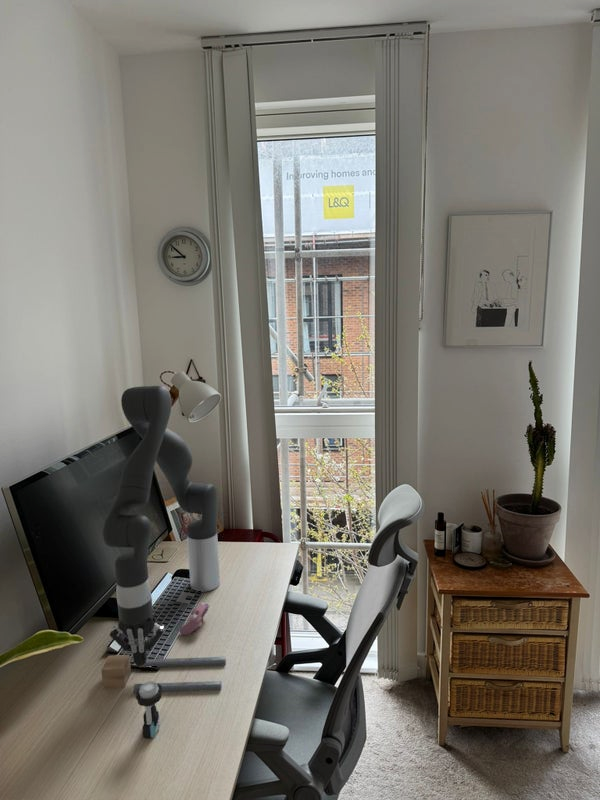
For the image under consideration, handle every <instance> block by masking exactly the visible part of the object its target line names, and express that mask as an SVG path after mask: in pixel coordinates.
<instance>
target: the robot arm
mask: <svg viewBox="0 0 600 800" xmlns="http://www.w3.org/2000/svg"><path fill="white" fill-rule="evenodd" d="M120 400H121V408H122V413H123V415H124V417H125V419H126V420H127V422H128V423H129V424H130V425H131V427H132V428H133V430H134V431H135V432H136V433H137V434H138V436H140V438H141V441H140V442H139V443H138V445H137V446H136V447H135V449H134V450H133V452H131V454H130V455H129V456H128V458H127V460H126V461H125V463H124V466H123V468H122V472H121V474H120V475H121V476H120V481H119V486H118V491H117V496H116V497H115V500H114V502H113V505H112V507H111V509H110V511H109V513H108V515H107V517H106V519H105V521H104V524H103V527H102V539H103V541H104V543H105V544H106V545H107V546H108V547H110V548H111V547H112V548H133V550H132V551H127V552H124V553H122V554H120V555H118V557H116V559H115V561H114V572H115V581H116V601H117V602H116V603H117V610H118V619H119V621H118V623H117V625H115V626H113V627H112V629H111V631H110V633H109V636H110V637H111V639H112V640H113V641H115V643H116V644H117V645H119V646H120V648H122V650H124V651H125V652H128V651H131V653H132V656H133V657H132V658H133V663H134V664H135V665H136V666H137V667H144V663H146V660H147V659H148V651H150V650H151V651H152V649H153V648H154V646H155V645H156V644H157V642H158V641H159V640H160V639H161V637H162V635H164V631H165V629H166V625H165V624H161V625H160V624H158V623H157V622H156V621H157V620H156V618H155V616H154V611H153V610H154V609H153V600H152V599H153V598H152V589H151V582H150V580H149V579H150V578H149V571H148V570H149V569H148V555H149V549H150V545H151V544H150V543H151V539H152V535H153V525H152V522H151V520H150V519H149V518H148V517H147V516H145V515H141V514H140V515H133V514H132V515H131V514H129V513H130V511H131V510H134V509H136V508H139V507H140V508H141V507H143V506H147V504H148V502H149V499H150V496H151V495H150V494H151V488H152V482H153V476H154V470H155V465H156V463H157V465H158V468H159V469H160V470H161V472H162V473H163V474H164V476H165V477H166V480H167V481H168V483H169V485H170V487H171V489H172V492H173V494H174V496H175V499H176V502H177V504H178V506H179V508H180V509H181V510H182V511H183V512H185V513H187V514H196V515H198V514H200V515H201V518H198V519H196V520H194V521H192V522H190V523H189V524H188V525H187V526H186V540H187V541H186V542H187V543H186V544H187V552H188V553H187V554H188V556H187V557H188V567H189V568H188V569H189V570H188V571H189V583H190V584H189V585H190V588H191V589H192V590H193V589H194V590H196V591H195V592H198V591H201V592H200V593H204V592H210V591H211V592H212V591H213V590H215V589H217V588H218V587H219V586H220V585H221V576H220V574H221V573H220V559H219V558H220V556H219V544H218V543H219V542H218V539H219V538H218V517H219V516H218V491H217V487H216V486H215V485H214V484H212V483H204V482H202V483H200V482H192V481H191V480H190V479H189V477H188V474H189V473H190V471H191V469H192V466H193V456H192V454H191V452H190V449H189V447H188V446H187V444H186V442H185V441H184V439H183V438H182V437H181V436H179V435H178V434H177V433H175V432H174V431H172V430H170V429H169V428H167V427H168V423H169V420H170V416H171V412H172V396H171V393H170V391H169V390H168V388H167V387H166V386H163V385H146V386H145V385H144V386H134V387H130V388H127V389H126V390H124V391H123V393H122V395H121V399H120ZM194 590H193V591H194ZM152 630H153V632H152V633H153V634H152V636H151V637H150V639H149V640H148V636H149V635H150V633H151V631H152Z"/></svg>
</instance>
